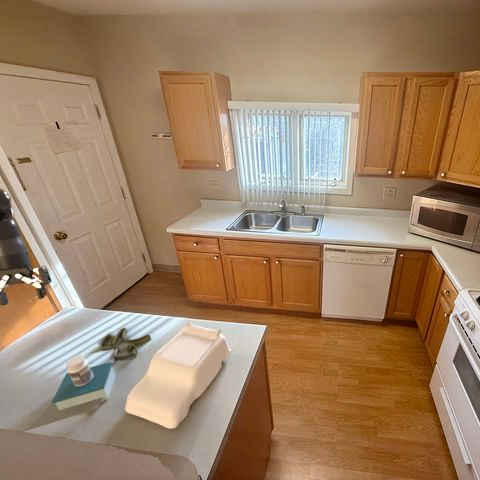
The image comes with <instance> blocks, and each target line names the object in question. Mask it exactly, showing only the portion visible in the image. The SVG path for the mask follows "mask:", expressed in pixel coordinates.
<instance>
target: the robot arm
mask: <svg viewBox="0 0 480 480" xmlns="http://www.w3.org/2000/svg"><path fill="white" fill-rule="evenodd" d="M11 201H12V198H11V196H10V194H9V192H7V191H6V190H5V189H2V188H0V306H6V305H8V304H9V298H8V296H7V294H6V291H5V290H6V289H7V287H8V286H14V285H21V284H22V285H23V284H25V283H26V284H28V285H31V286H33V287H35V290H36V291H35V292H36V294H37V297H38V300H42V299H45V297H46V296H47V294H48V293H47V290H46V286H47V285H49V284H51V283H52V282H53V280H52V278H51V275H50V273H49V270H48V267H47V266H46V265H42V266H39V267H33V266H32V261H31V258H30V256H29V251H28V246H27V245H26V242H25V240H24V238H23V236H22V233H21V229H20V226H19V224H18V222H17V220H16V218H15V214H14V209H13V205H12V202H11ZM34 273H36V274H37V275H39V277H40V278H39V277H37V276H35V275H34Z"/></svg>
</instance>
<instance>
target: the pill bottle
mask: <svg viewBox="0 0 480 480" xmlns="http://www.w3.org/2000/svg"><path fill="white" fill-rule="evenodd" d="M65 366H66V368H67V370H66V371H67V372H66V373H68V374H69V376H70V378H71V380H72V382H73V384H74V385H75V386H82V385H85V384H87V383H88V382H90V381H91V380H92V378H93V376H94V374H93V372H92V370H91V368H90V367H91V365H90V362H89V361H88V360H87V359H86V358H85V356H84V355H81V354H80V355H76V356H73V357H71V358H70V359H69V360H67V362H66V364H65Z"/></svg>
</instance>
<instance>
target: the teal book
mask: <svg viewBox="0 0 480 480" xmlns="http://www.w3.org/2000/svg"><path fill="white" fill-rule="evenodd" d="M113 364H114V362H113V361H110V362H109V361H108V362H106V363H102V364H98V365H94V366H90V368H91V370H92V372H93V374H94V376H93V378H92V380H91V381H90V382H88V383H87V384H85V385H82V386H75V385H74V384H73V382H72V380H71V378H70V376H69V374H68V372H66V373H65V375H64V377H63V379H62V381H61V383H60V385H59V387H58V389H57V390H56V393H55V394H54V396H53V399H52V400H51V403H52V404H55V406H56V407H57V409H58V410H59V411H62V410H65V409H68V408H72V407H75V406H79V405H82V404H85V403H89V402H91V401H95V400H99V403H101V402H104V401H107V400H109V397H110V396H111V391H112V389H113V386H114V383H115V379H116V377H117V374H116V372H115V369H114V367H113Z"/></svg>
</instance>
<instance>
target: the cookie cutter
mask: <svg viewBox="0 0 480 480" xmlns="http://www.w3.org/2000/svg"><path fill="white" fill-rule="evenodd" d="M127 333H128V330H127V328H126V327H122V328H121V329H120V330H119V331H118V332H117V333H116V335H113V334H110V333H109V334H106V335H105V336H104V337H103V338H102V339H101V340H100V342H99V347H100V349H101V351H102V352H106V351H109V350H110V351H111V350H113V352H112V353H111V354H110V355H111V356H112V357H113V358H114V360H116V361H125V360H126V361H127V360H130V359H131V358H137V356H138V355H137V354H138V353H139V350H138V347H140V346H142V345H144V344H146V343H148V342H150V341H151V340H152V337H151V335H150V334H149V333H148V334H145V335H143V336H141V337H137V338H134V339H133V338H132V339H130V338H129V339H128V338H126V335H127ZM121 336H122V339H123V341H124V343H126V344H128V345H126V346H125V350H126V353H127V354H123V355H117V353H119V352H120V351H121V349H120V346H119V345H116V344H117V342H118V340H119V339H120V337H121ZM106 342H107V343H108V346H104V344H105V343H106ZM133 350H134V352H133Z"/></svg>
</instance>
